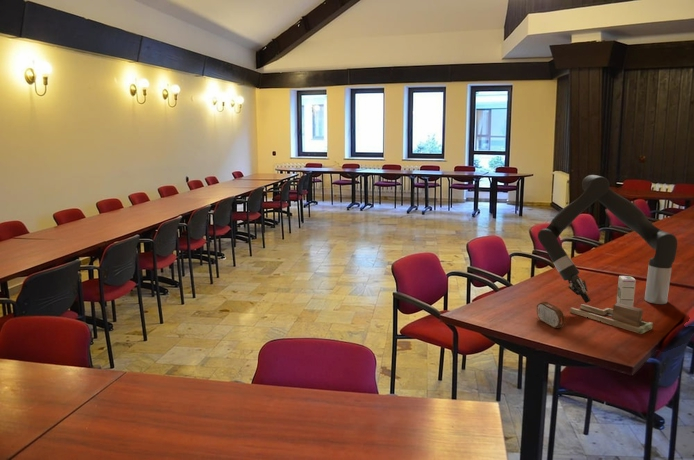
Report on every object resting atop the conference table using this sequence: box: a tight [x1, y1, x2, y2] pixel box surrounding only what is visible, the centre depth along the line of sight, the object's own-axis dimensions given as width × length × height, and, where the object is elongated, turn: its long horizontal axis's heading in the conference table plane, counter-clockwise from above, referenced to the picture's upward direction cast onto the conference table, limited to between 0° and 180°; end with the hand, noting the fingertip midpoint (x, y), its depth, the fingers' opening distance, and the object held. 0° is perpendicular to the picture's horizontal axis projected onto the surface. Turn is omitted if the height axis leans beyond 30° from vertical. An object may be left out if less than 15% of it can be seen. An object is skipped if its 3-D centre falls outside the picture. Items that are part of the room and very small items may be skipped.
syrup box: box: [615, 275, 637, 307], centre depth 237 cm, size 6×6×14 cm
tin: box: [536, 301, 566, 329], centre depth 218 cm, size 15×3×8 cm, turn 17°
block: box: [611, 303, 644, 327], centre depth 217 cm, size 4×10×8 cm, turn 38°
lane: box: [569, 303, 654, 335], centre depth 225 cm, size 14×30×2 cm, turn 37°
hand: (588, 301), depth 231 cm, fingers closed
